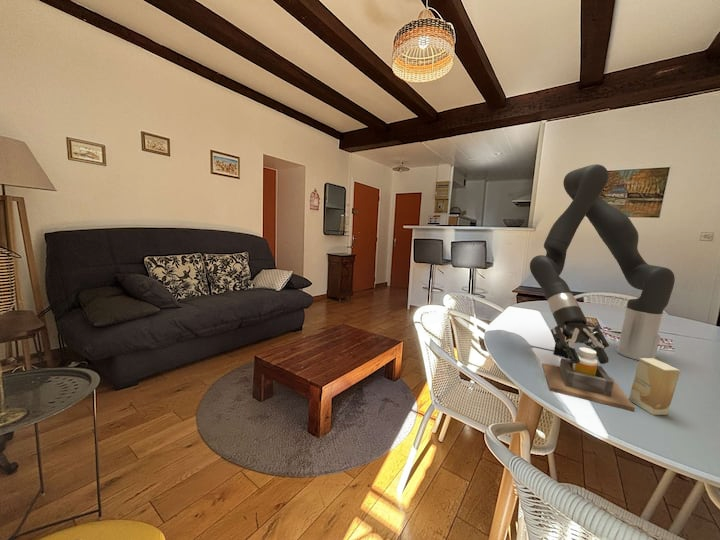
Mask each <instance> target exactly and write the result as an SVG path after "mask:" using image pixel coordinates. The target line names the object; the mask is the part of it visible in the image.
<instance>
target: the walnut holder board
mask: <svg viewBox="0 0 720 540" xmlns="http://www.w3.org/2000/svg"><path fill="white" fill-rule="evenodd" d="M572 366H573V363H572V361H570V359H569V358H564V357H563V358H562V357H561V358H560V361H559V366H558V365H554V364H549V363H545V362H542V363H541V367H542V371H543V374H544V377H545V380H546V384H547V386H548V390H549V391H552V392H555V393H560V394H563V395H567V396H570V397H575V398H578V397H579V399H583V400H588V401H592V402H595V403H600V404H603V405H607V406H612V407H615V408H620V409H624V410H627V411H628V410H629V411H632V412H635V411H636V407H635V406H634V405H633V404H634V403H633V402H632V401H630V400H629V398H628V397H627V395H626V394H625V392H624V391H623V390H622V388H621V387H620V386H619V384H618V383H617V382H616V380H615V379H614V378H613V377H610V376H609V374H608V373H607V372H606V371H605V369H604V368H603V366H601V365H597V370H596V375H595V376H591V375H586V374H582V373H577V372H573V370H572Z"/></svg>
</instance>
